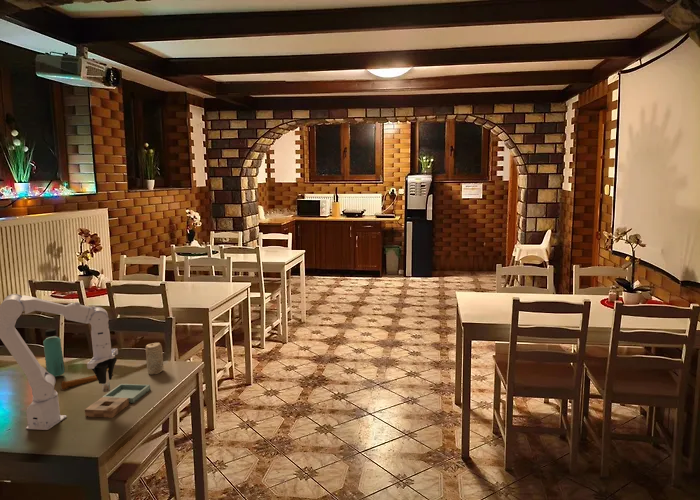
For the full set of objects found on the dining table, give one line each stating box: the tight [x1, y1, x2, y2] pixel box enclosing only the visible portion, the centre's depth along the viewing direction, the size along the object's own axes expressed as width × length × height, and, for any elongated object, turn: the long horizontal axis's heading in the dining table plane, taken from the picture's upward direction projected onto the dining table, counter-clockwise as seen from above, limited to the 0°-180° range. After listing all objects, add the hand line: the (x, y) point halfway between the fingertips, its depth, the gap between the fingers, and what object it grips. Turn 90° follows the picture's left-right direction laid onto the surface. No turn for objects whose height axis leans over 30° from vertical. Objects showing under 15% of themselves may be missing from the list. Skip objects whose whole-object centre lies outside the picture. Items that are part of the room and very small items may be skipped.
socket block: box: [84, 396, 130, 419], centre depth 186 cm, size 10×10×2 cm
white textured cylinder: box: [145, 342, 164, 376], centre depth 219 cm, size 6×8×12 cm
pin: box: [101, 367, 111, 393], centre depth 185 cm, size 3×3×8 cm
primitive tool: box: [60, 374, 114, 391], centre depth 212 cm, size 19×6×4 cm, turn 142°
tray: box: [102, 383, 151, 404], centre depth 197 cm, size 12×12×2 cm
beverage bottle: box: [42, 328, 66, 377], centre depth 217 cm, size 6×7×20 cm
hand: (105, 381), depth 185 cm, fingers closed on pin, 3 cm apart
